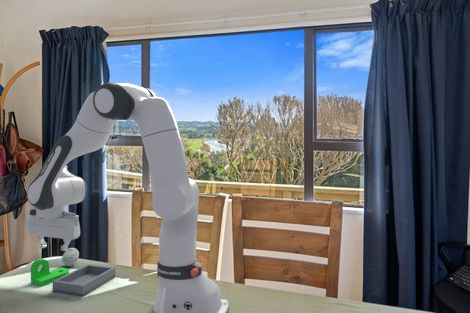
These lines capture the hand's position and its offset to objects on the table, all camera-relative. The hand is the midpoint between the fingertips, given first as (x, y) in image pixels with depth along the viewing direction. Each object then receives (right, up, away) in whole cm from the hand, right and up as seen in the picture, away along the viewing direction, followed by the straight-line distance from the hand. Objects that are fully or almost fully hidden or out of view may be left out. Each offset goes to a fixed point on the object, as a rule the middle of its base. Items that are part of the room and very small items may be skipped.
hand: (53, 249), depth 123 cm
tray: (+13, -11, -3) cm, 17 cm away
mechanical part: (-1, -12, +1) cm, 12 cm away
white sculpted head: (-1, -11, +14) cm, 18 cm away
